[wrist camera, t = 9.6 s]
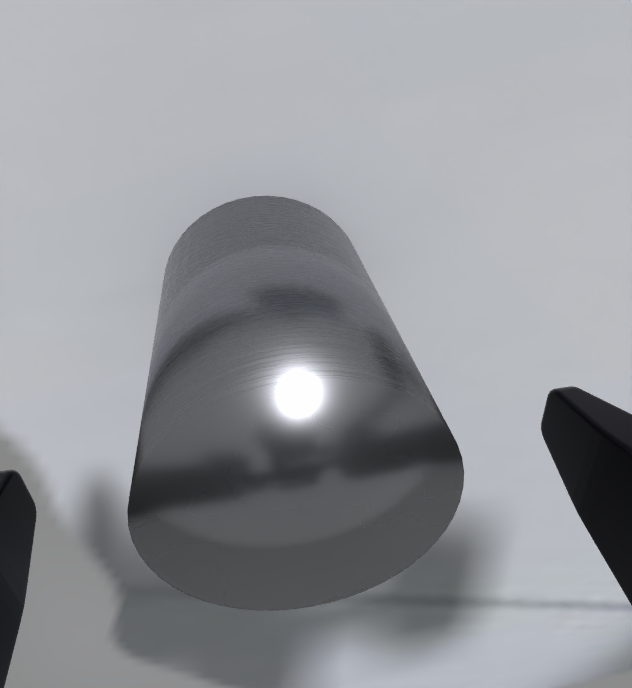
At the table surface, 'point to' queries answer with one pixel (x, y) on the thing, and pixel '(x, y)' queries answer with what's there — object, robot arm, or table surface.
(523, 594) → the table surface
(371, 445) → the steel cylinder
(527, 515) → the table surface
